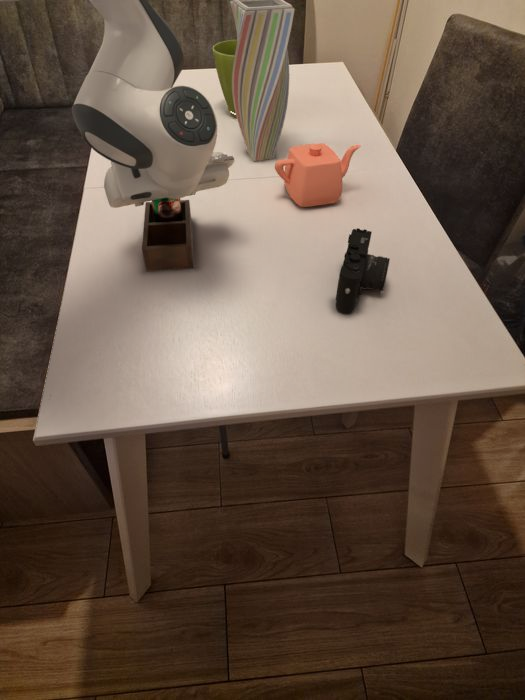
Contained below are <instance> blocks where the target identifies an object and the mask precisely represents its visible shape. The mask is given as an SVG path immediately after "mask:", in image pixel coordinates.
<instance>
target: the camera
mask: <svg viewBox="0 0 525 700" xmlns="http://www.w3.org/2000/svg"><path fill="white" fill-rule="evenodd" d="M371 238H372V231H371V230H367V229H365V228H364V229H361V228H360V227H359V228H353V229H352V230H351V232H350V234H348V239H347V248H346V252H345V253H344V256H343V257H344V259H343V263H342V266H341V267H340V271H339V275H338V281H337V287H336V295H335V309H336V311H337V312H339V313H340V314H344V315H349V314H351V313H353V312H354V311H355V309H356V304H357V300H358V298H359V297H361V294H362V289H365V290H368V289H369V290H370V289H371V290H372V291H378V292H384V289H385V284H386V279H387V275H388V270H389V266H390V258H389V257H384V256H382V255H381V256H380V255H378V256H375V255H374V254H370V253H369V247H370V243H371Z"/></svg>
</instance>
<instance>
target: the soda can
mask: <svg viewBox="0 0 525 700" xmlns="http://www.w3.org/2000/svg"><path fill="white" fill-rule="evenodd" d="M181 200H182V199H181V198H177V199H173V198H162V199H157V200H152V201H151V202H152V206H153V212H154V218H155V223H157V222H174V221H183V216H182V208H181Z"/></svg>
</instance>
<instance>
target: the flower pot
mask: <svg viewBox="0 0 525 700" xmlns="http://www.w3.org/2000/svg"><path fill="white" fill-rule="evenodd" d="M236 46H237V39H229V40H224V41H220V42H217V43H215V44H213V46H212V54H213V61H214V64H215V69H216V73H217V78H218V81H219V84H220V88H221V92H222V94H223V98H224V101H225V104H226V106H227V108H228V111H229V110H230V111H232V112H234V113H236V112H235V108H234V102H233V94H232V71H233V63H234V57H235V52H236ZM230 111H229V112H230ZM230 115H231V117H233V118H236V119H237V116H236V115H234V114H232V113H230Z"/></svg>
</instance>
